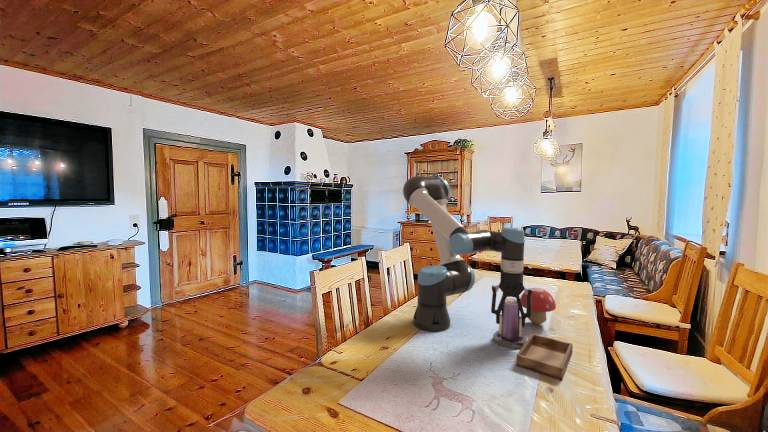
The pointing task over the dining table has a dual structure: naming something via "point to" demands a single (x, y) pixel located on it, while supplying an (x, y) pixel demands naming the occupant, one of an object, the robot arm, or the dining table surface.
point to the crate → (545, 356)
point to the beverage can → (510, 320)
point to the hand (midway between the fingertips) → (509, 333)
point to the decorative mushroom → (539, 304)
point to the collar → (507, 343)
